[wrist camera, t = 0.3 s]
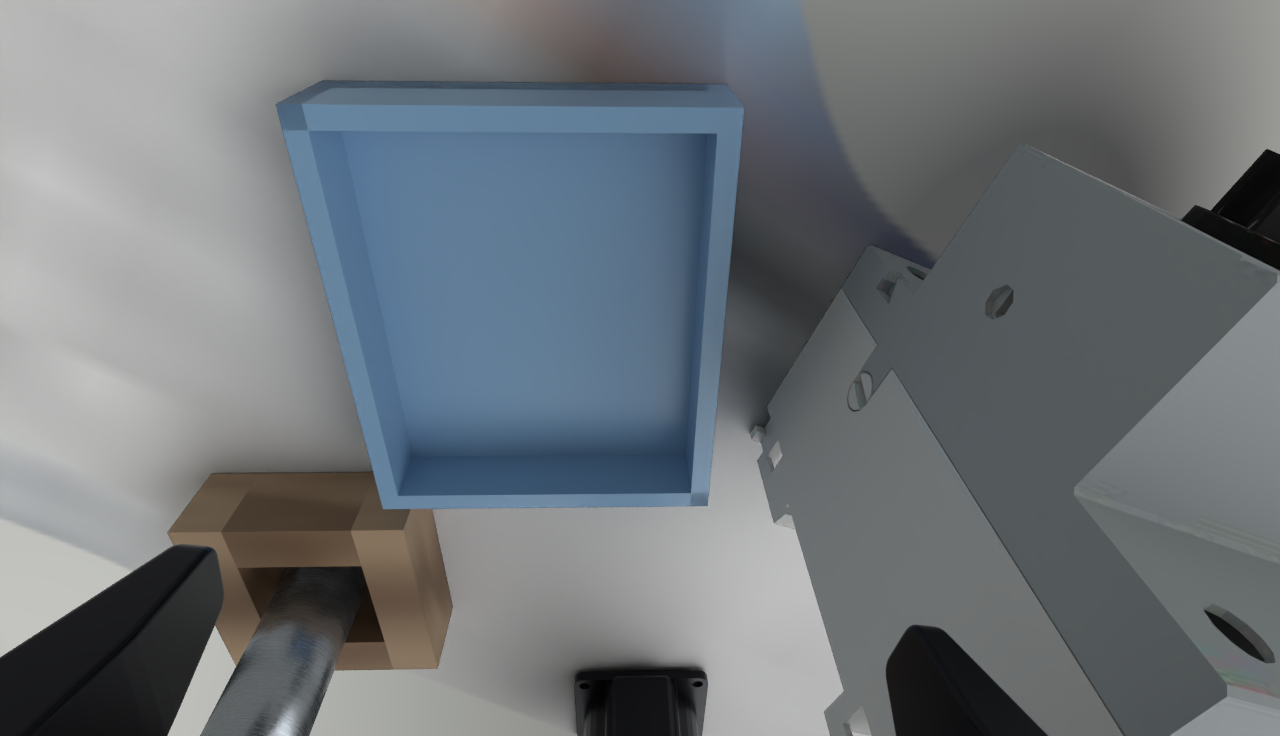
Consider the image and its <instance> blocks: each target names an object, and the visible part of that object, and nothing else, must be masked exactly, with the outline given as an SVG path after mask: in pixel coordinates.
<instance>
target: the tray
mask: <svg viewBox="0 0 1280 736" xmlns="http://www.w3.org/2000/svg"><path fill="white" fill-rule="evenodd" d="M276 108H277V111H278V115H279V119H280V123H281V127H282V130H283V134H284V138H285V142H286V145H287V149H288V153H289V157H290V160H291V164H292V168H293V172H294V176H295V179H296V183H297V187H298V191H299V194H300V198H301V202H302V206H303V209H304V213H305V217H306V221H307V225H308V228H309V232H310V236H311V240H312V243H313V247H314V251H315V255H316V258H317V262H318V266H319V270H320V274H321V277H322V281H323V285H324V289H325V292H326V296H327V300H328V304H329V307H330V311H331V315H332V319H333V323H334V326H335V330H336V334H337V338H338V341H339V345H340V349H341V353H342V356H343V360H344V364H345V368H346V372H347V375H348V379H349V383H350V387H351V390H352V394H353V398H354V402H355V405H356V409H357V413H358V417H359V421H360V424H361V428H362V432H363V436H364V439H365V443H366V447H367V451H368V454H369V458H370V462H371V466H372V470H373V473H374V477H375V481H376V485H377V488H378V492H379V496H380V500H381V503H382V507H383V509H457V508H560V507H663V506H708V496H709V485H710V474H711V464H712V453H713V442H714V431H715V420H716V409H717V399H718V388H719V377H720V366H721V355H722V345H723V334H724V323H725V312H726V301H727V291H728V280H729V269H730V258H731V247H732V236H733V226H734V215H735V204H736V193H737V182H738V172H739V161H740V150H741V139H742V128H743V118H744V107H743V105H742V104H741V102H740V101H739V100H738V98H737V97H736V96H735V94H734V93H733V91H732V90H731V89H730V87H729V86H728V85H727V84H646V83H537V82H427V81H321V82H319V83H317V84H315V85H313V86H311V87H309V88H307V89H305V90H303V91H301V92H299V93H297V94H295V95H293V96H291V97H289V98H287V99H285V100H283V101H281V102H279V103H277V104H276Z"/></svg>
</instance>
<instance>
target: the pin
mask: <svg viewBox="0 0 1280 736" xmlns="http://www.w3.org/2000/svg"><path fill="white" fill-rule="evenodd" d="M366 587H367V582H366V579H365V576H364V573H363V569H362V566H337V567H288V568H287V570H286V572H285V574H284V576H283V578H282V580H281V582H280V584H279V585H278V587H277V589H276V591H275V593H274V595H273V597H272V599H271V601H270V603H269V605H268V607H267V608H266V610H265V612H264V614H263V616H262V618H261V620H260V622H259V624H258V626H257V628H256V630H255V632H254V633H253V635H252V637H251V639H250V641H249V643H248V645H247V647H246V649H245V651H244V653H243V655H242V656H241V658H240V660H239V662H238V664H237V666H236V668H235V670H234V672H233V674H232V676H231V678H230V680H229V682H228V683H227V685H226V687H225V689H224V691H223V693H222V695H221V697H220V699H219V701H218V703H217V705H216V706H215V708H214V710H213V712H212V714H211V716H210V718H209V720H208V722H207V724H206V726H205V728H204V730H203V732H202V733H201V735H200V736H309V735H310V732H311V729H312V726H313V724H314V721H315V719H316V716H317V714H318V711H319V709H320V706H321V703H322V701H323V698H324V696H325V693H326V691H327V688H328V685H329V682H330V680H331V678H332V675H333V672H334V670H335V667H336V665H337V662H338V659H339V657H340V654H341V652H342V649H343V646H344V644H345V641H346V639H347V636H348V633H349V631H350V628H351V626H352V623H353V620H354V618H355V615H356V613H357V610H358V607H359V605H360V602H361V600H362V597H363V594H364V592H365V589H366Z"/></svg>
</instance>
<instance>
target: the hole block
mask: <svg viewBox="0 0 1280 736" xmlns="http://www.w3.org/2000/svg"><path fill="white" fill-rule="evenodd" d="M167 533H168V535H169V537H170V539H171V541H172V543H173V545H174V546H175V545H178V544H191V545H200V546H209V547H212V548H213V549H214V550H215V551H216V552H217V555H218V560H219V565H220V570H221V576H222V581H223V586H224V601H223V605H222V609H221V612H220V614H219V616H218V619H217V621H216V623H215V626H216V628H217V630H218V631H219V634H220V636H221V637H222V640H223V641H224V643H225V645H226V647H227V649H228V651H229V653H230V655H231V657H232V659H233V661H234V663H235V665H236V666H237V664H238V662H239V660H240V658H241V656H242V655H243V653H244V651H245V649H246V647H247V645H248V643H249V641H250V639H251V637H252V635H253V633H254V632H255V630H256V628H257V626H258V624H259V622H260V620H261V618H262V616H263V614H264V612H265V610H266V608H267V607H268V605H269V603H270V601H271V599H272V597H273V595H274V593H275V591H276V589H277V587H278V585H279V584H280V582H281V580H282V578H283V576H284V574H285V572H286V570H287V568H288V567H337V566H362V569H363V573H364V576H365V579H366V582H367V587H366V589H365V592H364V594H363V597H362V600H361V602H360V605H359V607H358V610H357V613H356V615H355V618H354V620H353V623H352V626H351V628H350V631H349V633H348V636H347V639H346V641H345V644H344V646H343V649H342V652H341V654H340V657H339V659H338V662H337V665H336V667H335V670H390V669H438V665H439V661H440V657H441V653H442V649H443V645H444V641H445V637H446V633H447V629H448V625H449V621H450V617H451V612H452V608H453V606H452V601H451V597H450V592H449V587H448V582H447V578H446V573H445V568H444V563H443V559H442V554H441V549H440V544H439V540H438V535H437V530H436V526H435V521H434V516H433V511H432V509H383V507H382V503H381V500H380V496H379V492H378V488H377V485H376V481H375V477H374V473H373V472H354V473H230V474H211V475H210V476H209V478H208V479H207V480H206V482H205V483H204V484H203V486H202V487H201V488H200V490H199V491H198V492H197V494H196V495H195V496H194V498H193V499H192V500H191V502H190V503H189V504H188V506H187V507H186V508H185V510H184V511H183V512H182V514H181V515H180V516H179V518H178V519H177V520H176V522H175V523H174V524H173V526H172V527H171V528H170V530H169V531H168V532H167Z"/></svg>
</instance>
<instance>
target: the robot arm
mask: <svg viewBox="0 0 1280 736" xmlns="http://www.w3.org/2000/svg"><path fill="white" fill-rule="evenodd" d="M223 601H224V586H223V581H222V576H221V570H220V565H219V560H218V555H217V552H216V551H215V550H214V549H213V548H212V547H209V546H200V545H191V544H178V545H175V546H172V547H170V548H168V549H167V550H165V551H164V552H162V553H161V554H159V555H158V556H156V557H154V558H153V559H151V560H150V561H148V562H147V563H145V564H144V565H142V566H141V567H139V568H138V569H136V570H134V571H133V572H131V573H130V574H128V575H127V576H125V577H124V578H122V579H121V580H119V581H117V582H116V583H115V584H113V585H111V586H110V587H108V588H107V589H105V590H104V591H102V592H101V593H99V594H97V595H96V596H94V597H93V598H91V599H90V600H88V601H87V602H85V603H83V604H82V605H80V606H79V607H77V608H76V609H74V610H73V611H71V612H70V613H68V614H66V615H65V616H64V617H62V618H60V619H59V620H57V621H56V622H54V623H53V624H51V625H50V626H48V627H47V628H45V629H43V630H42V631H40V632H39V633H38V634H36V635H34V636H33V637H31V638H29V639H28V640H26V641H25V642H23V643H22V644H20V645H19V646H17V647H16V648H14V649H13V650H11V651H9V652H8V653H6V654H5V655H3V656H2V657H1V658H0V736H167V735H168V733H169V730H170V728H171V726H172V724H173V722H174V719H175V717H176V715H177V712H178V710H179V708H180V706H181V703H182V701H183V699H184V696H185V693H186V692H187V689H188V687H189V685H190V682H191V679H192V677H193V675H194V673H195V670H196V668H197V666H198V663H199V661H200V659H201V656H202V654H203V652H204V649H205V647H206V644H207V642H208V640H209V638H210V635H211V633H212V630H213V628H214V626H215V623H216V621H217V619H218V616H219V614H220V612H221V609H222V605H223ZM886 682H887V688H888V693H889V699H890V705H891V711H892V716H893V722H894V728H895V734H896V736H1048V735H1047V734H1046V733H1045V732H1044V731H1043V730H1042V729H1041V728H1040V727H1039V726H1038V725H1037V724H1036V723H1035V722H1034V721H1033V720H1032V719H1031V718H1030V717H1029V716H1028V715H1027V714H1026V713H1025V711H1024V710H1023V709H1022V708H1021V707H1020V706H1019V705H1018V704H1017V703H1016V702H1015V701H1014V700H1013V699H1012V698H1011V697H1010V696H1009V695H1008V694H1007V693H1006V692H1005V691H1004V690H1003V689H1002V688H1001V687H1000V686H999V685H998V684H997V683H996V682H995V681H994V680H993V679H992V678H991V677H990V676H989V675H988V674H987V673H986V672H985V671H984V670H983V669H982V668H981V667H980V666H979V665H978V664H977V663H976V662H975V661H974V660H973V659H972V658H971V657H970V656H969V655H968V654H967V653H966V652H965V651H964V650H963V649H962V648H961V647H960V646H959V645H958V644H957V643H956V642H955V641H954V640H953V639H952V638H951V637H950V636H949V635H948V634H947V633H946V632H945V631H944V630H942V629H941V628H938V627H935V626H926V625H917V624H915V625H911V626H909V627H908V628H907V629H906V630H905V632H904V633H903V635H902V637H901V638H900V640H899V642H898V643H897V645H896V646H895V648H894V650H893V651H892V653H891V654H890V656H889V658H888V660H887V664H886ZM707 688H708V681H707V674H706V673H705V672H703V671H643V672H585V673H580V674H577V675H576V676H575V682H574V690H575V705H576V720H577V735H578V736H702V731H703V722H704V714H705V705H706V696H707Z"/></svg>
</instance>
